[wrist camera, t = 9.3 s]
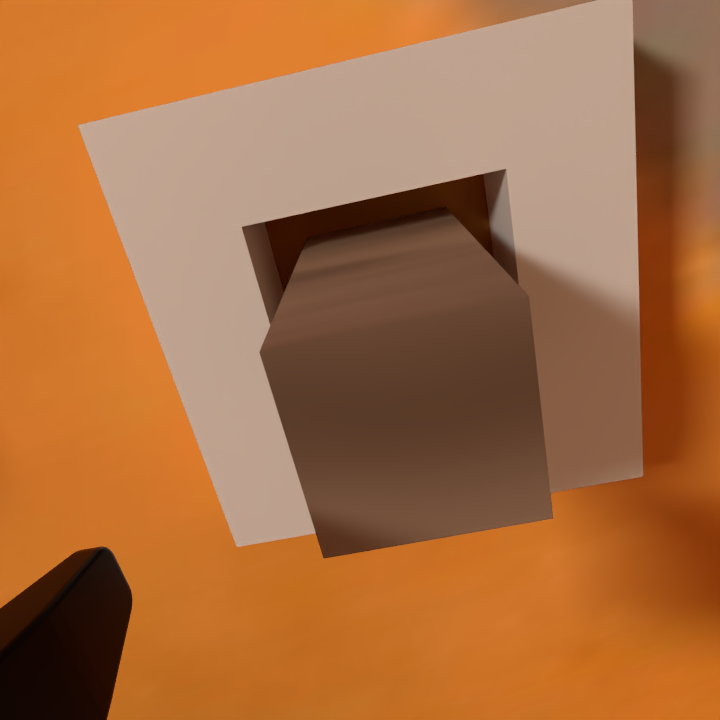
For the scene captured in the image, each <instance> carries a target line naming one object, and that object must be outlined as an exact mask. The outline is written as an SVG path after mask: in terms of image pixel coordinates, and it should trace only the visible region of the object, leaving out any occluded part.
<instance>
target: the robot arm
mask: <svg viewBox="0 0 720 720" xmlns="http://www.w3.org/2000/svg"><path fill="white" fill-rule="evenodd" d="M131 609H132V593H131V590H130V587H129V585H128V583H127V581H126V579H125V577H124V575H123V573H122V571H121V568H120V566H119V564H118V562H117V560H116V558H115V556H114V554H113V553H112V551H111V550H110V549H108V548H107V547H96V548H90V549H84V550H80V551H77V552H75V553H73V554H72V555H70V556H69V557H68V558H66V559H65V560H64V561H63V562H61V563H60V564H59V565H57V566H56V567H55V568H53V569H52V570H51V571H49V572H48V573H47V574H45V575H44V576H43V577H41V578H40V579H39V580H37V581H36V582H35V583H33V584H32V585H31V586H29V587H28V588H27V589H25V590H24V591H23V592H22V593H20V594H19V595H18V596H16V597H15V598H14V599H12V600H11V601H10V602H8V603H7V604H6V605H4V606H3V607H2V608H0V720H107V716H108V712H109V708H110V704H111V700H112V696H113V691H114V687H115V682H116V678H117V673H118V669H119V664H120V660H121V655H122V650H123V646H124V641H125V637H126V632H127V628H128V623H129V619H130V614H131Z"/></svg>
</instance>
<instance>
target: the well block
mask: <svg viewBox="0 0 720 720" xmlns="http://www.w3.org/2000/svg"><path fill="white" fill-rule="evenodd" d="M78 127H79V130H80V132H81V135H82V137H83V140H84V143H85V145H86V148H87V151H88V153H89V156H90V159H91V161H92V164H93V167H94V169H95V172H96V175H97V177H98V180H99V183H100V185H101V188H102V191H103V193H104V196H105V199H106V201H107V204H108V206H109V209H110V212H111V214H112V217H113V220H114V222H115V225H116V228H117V230H118V233H119V236H120V238H121V241H122V244H123V246H124V249H125V252H126V254H127V257H128V260H129V262H130V265H131V268H132V270H133V273H134V275H135V278H136V281H137V283H138V286H139V289H140V291H141V294H142V297H143V299H144V302H145V305H146V307H147V310H148V313H149V315H150V318H151V321H152V323H153V326H154V329H155V331H156V334H157V337H158V339H159V342H160V344H161V347H162V350H163V352H164V355H165V358H166V360H167V363H168V366H169V368H170V371H171V374H172V376H173V379H174V382H175V384H176V387H177V390H178V392H179V395H180V398H181V400H182V403H183V406H184V408H185V411H186V414H187V416H188V419H189V421H190V424H191V427H192V429H193V432H194V435H195V437H196V440H197V443H198V445H199V448H200V451H201V453H202V456H203V459H204V461H205V464H206V467H207V469H208V472H209V475H210V477H211V480H212V483H213V485H214V488H215V490H216V493H217V496H218V498H219V501H220V504H221V506H222V509H223V512H224V514H225V517H226V520H227V522H228V525H229V528H230V530H231V533H232V536H233V538H234V541H235V544H236V546H237V547H240V546H245V545H251V544H257V543H263V542H269V541H274V540H280V539H286V538H292V537H297V536H303V535H309V534H315V533H316V532H315V529H314V526H313V523H312V519H311V516H310V513H309V510H308V507H307V503H306V500H305V497H304V494H303V491H302V487H301V484H300V481H299V478H298V474H297V471H296V468H295V465H294V462H293V458H292V455H291V452H290V449H289V446H288V442H287V439H286V436H285V433H284V430H283V426H282V423H281V420H280V417H279V414H278V410H277V407H276V404H275V401H274V398H273V394H272V391H271V388H270V385H269V382H268V378H267V375H266V372H265V369H264V366H263V362H262V359H261V356H260V353H259V352H260V349H261V347H262V344H263V342H264V340H265V337H266V335H267V333H268V330H269V328H270V325H271V323H272V321H273V318H274V316H275V313H276V311H277V309H278V306H279V304H280V301H281V299H282V297H283V294H284V291H283V288H282V284H281V280H280V277H279V273H278V269H277V266H276V262H275V258H274V255H273V251H272V248H271V244H270V240H269V237H268V233H267V229H266V226H265V222H266V221H270V220H275V219H280V218H284V217H289V216H293V215H298V214H302V213H307V212H311V211H316V210H320V209H325V208H330V207H334V206H339V205H343V204H348V203H352V202H357V201H361V200H366V199H371V198H375V197H380V196H384V195H389V194H393V193H398V192H402V191H407V190H412V189H416V188H421V187H425V186H430V185H434V184H439V183H443V182H448V181H452V180H457V179H462V178H466V177H471V176H475V175H480V174H483V176H484V184H485V192H486V200H487V208H488V217H489V225H490V233H491V241H492V249H493V257H494V259H495V260H496V261H497V262H498V264H499V265H500V266H501V267H502V268H503V269H504V270H505V271H506V272H507V273H508V274H509V275H510V276H511V277H512V279H513V280H514V281H515V282H516V283H517V284H518V285H519V286H520V287H521V288H522V289H523V290H524V291H525V292H526V293H527V295H528V296H529V300H530V310H531V319H532V328H533V337H534V346H535V356H536V365H537V374H538V383H539V392H540V402H541V411H542V420H543V429H544V438H545V448H546V457H547V466H548V475H549V484H550V493H552V492H558V491H563V490H569V489H575V488H581V487H587V486H592V485H598V484H604V483H610V482H615V481H621V480H627V479H633V478H639V477H643V441H642V397H641V354H640V310H639V267H638V224H637V180H636V137H635V93H634V50H633V6H632V0H597V1H593V2H588V3H584V4H580V5H576V6H572V7H568V8H563V9H559V10H555V11H551V12H547V13H543V14H538V15H534V16H530V17H526V18H522V19H518V20H513V21H509V22H505V23H501V24H497V25H493V26H488V27H484V28H480V29H476V30H472V31H468V32H464V33H459V34H455V35H451V36H447V37H443V38H439V39H434V40H430V41H426V42H422V43H418V44H414V45H409V46H405V47H401V48H397V49H393V50H389V51H384V52H380V53H376V54H372V55H368V56H364V57H360V58H355V59H351V60H347V61H343V62H339V63H335V64H330V65H326V66H322V67H318V68H314V69H310V70H305V71H301V72H297V73H293V74H289V75H285V76H280V77H276V78H272V79H268V80H264V81H260V82H255V83H251V84H247V85H243V86H239V87H235V88H231V89H226V90H222V91H218V92H214V93H210V94H206V95H201V96H197V97H193V98H189V99H185V100H181V101H176V102H172V103H168V104H164V105H160V106H156V107H151V108H147V109H143V110H139V111H135V112H131V113H127V114H122V115H118V116H114V117H110V118H106V119H102V120H97V121H93V122H89V123H85V124H81V125H78Z"/></svg>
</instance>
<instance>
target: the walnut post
mask: <svg viewBox="0 0 720 720" xmlns="http://www.w3.org/2000/svg"><path fill="white" fill-rule="evenodd" d="M259 353H260V356H261V359H262V362H263V366H264V369H265V372H266V375H267V378H268V382H269V385H270V388H271V391H272V394H273V398H274V401H275V404H276V407H277V410H278V414H279V417H280V420H281V423H282V426H283V430H284V433H285V436H286V439H287V442H288V446H289V449H290V452H291V455H292V458H293V462H294V465H295V468H296V471H297V474H298V478H299V481H300V484H301V487H302V491H303V494H304V497H305V500H306V503H307V507H308V510H309V513H310V516H311V519H312V523H313V526H314V529H315V532H316V535H317V539H318V542H319V545H320V548H321V551H322V555H323V558H329V557H335V556H341V555H346V554H352V553H358V552H364V551H369V550H375V549H381V548H387V547H392V546H398V545H404V544H409V543H415V542H421V541H427V540H432V539H438V538H444V537H449V536H455V535H461V534H467V533H472V532H478V531H484V530H490V529H495V528H501V527H507V526H512V525H518V524H524V523H530V522H535V521H541V520H547V519H553V512H552V503H551V494H550V484H549V475H548V466H547V457H546V448H545V438H544V429H543V420H542V411H541V402H540V392H539V383H538V374H537V365H536V356H535V346H534V337H533V328H532V319H531V310H530V300H529V296H528V295H527V293H526V292H525V291H524V290H523V289H522V288H521V287H520V286H519V285H518V284H517V283H516V282H515V281H514V280H513V279H512V277H511V276H510V275H509V274H508V273H507V272H506V271H505V270H504V269H503V268H502V267H501V266H500V265H499V264H498V262H497V261H496V260H495V259H494V258H493V257H492V256H491V255H490V254H489V253H488V252H487V251H486V250H485V249H484V247H483V246H482V245H481V244H480V243H479V242H478V241H477V240H476V239H475V238H474V237H473V236H472V235H471V234H470V232H469V231H468V230H467V229H466V228H465V227H464V226H463V225H462V224H461V223H460V222H459V221H458V220H457V219H456V217H455V216H454V215H453V214H452V213H451V212H450V211H449V210H448V209H447V208H446V207H444V208H439V209H435V210H430V211H426V212H421V213H417V214H412V215H408V216H403V217H399V218H394V219H390V220H385V221H381V222H376V223H372V224H367V225H363V226H358V227H354V228H349V229H345V230H340V231H336V232H332V233H327V234H323V235H318V236H314V237H309V238H307V239H306V242H305V244H304V247H303V249H302V251H301V254H300V256H299V259H298V261H297V263H296V266H295V268H294V270H293V273H292V275H291V278H290V280H289V282H288V285H287V287H286V290H285V292H284V294H283V297H282V299H281V301H280V304H279V306H278V309H277V311H276V313H275V316H274V318H273V321H272V323H271V325H270V328H269V330H268V333H267V335H266V337H265V340H264V342H263V344H262V347H261V349H260V352H259Z"/></svg>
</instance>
